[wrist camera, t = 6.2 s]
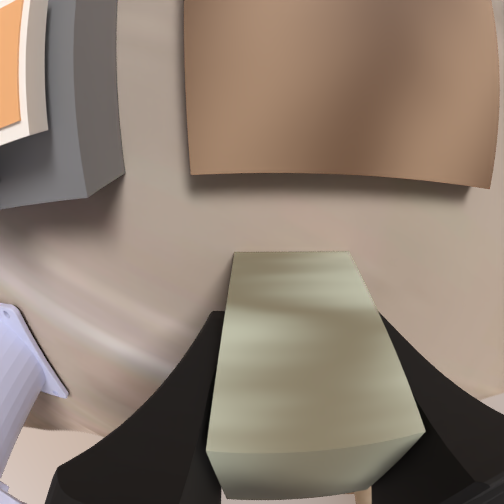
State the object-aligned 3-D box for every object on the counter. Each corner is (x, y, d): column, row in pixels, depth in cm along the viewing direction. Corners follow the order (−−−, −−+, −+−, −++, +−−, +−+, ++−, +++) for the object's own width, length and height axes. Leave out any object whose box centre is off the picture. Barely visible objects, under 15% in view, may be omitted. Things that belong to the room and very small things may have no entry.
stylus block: (239, 336, 12) (227, 499, 6) (234, 252, 10) (205, 450, 4) (333, 334, 12) (366, 489, 6) (348, 251, 10) (425, 430, 4)
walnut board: (197, 167, 9) (190, 175, 8) (195, -91, 4) (190, -104, 3) (474, 180, 9) (489, 189, 8) (463, -47, 4) (476, -53, 3)
